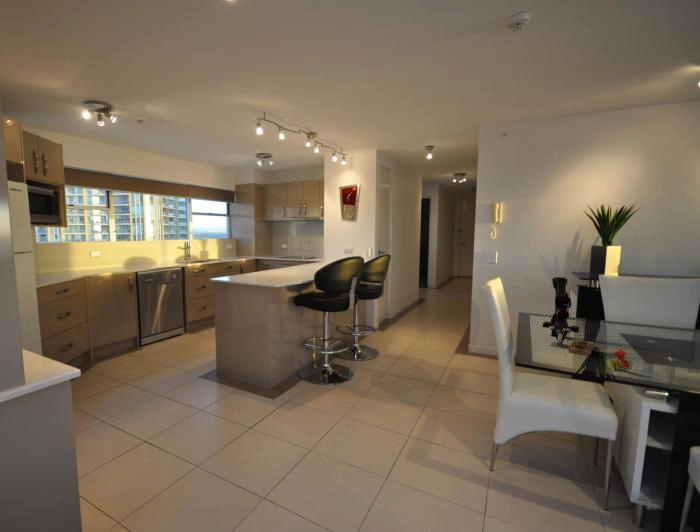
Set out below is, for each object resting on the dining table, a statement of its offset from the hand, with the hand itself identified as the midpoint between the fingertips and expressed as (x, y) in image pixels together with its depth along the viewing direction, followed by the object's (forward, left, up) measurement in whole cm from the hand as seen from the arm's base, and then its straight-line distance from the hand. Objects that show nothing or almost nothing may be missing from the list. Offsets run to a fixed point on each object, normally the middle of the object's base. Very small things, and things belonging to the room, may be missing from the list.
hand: (560, 340), depth 205 cm
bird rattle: (+30, -22, -4) cm, 37 cm away
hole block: (+11, 0, -4) cm, 12 cm away
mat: (0, 0, -4) cm, 4 cm away
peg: (0, 0, -3) cm, 3 cm away
